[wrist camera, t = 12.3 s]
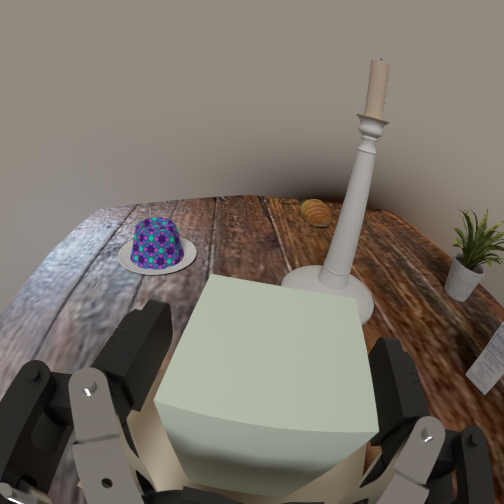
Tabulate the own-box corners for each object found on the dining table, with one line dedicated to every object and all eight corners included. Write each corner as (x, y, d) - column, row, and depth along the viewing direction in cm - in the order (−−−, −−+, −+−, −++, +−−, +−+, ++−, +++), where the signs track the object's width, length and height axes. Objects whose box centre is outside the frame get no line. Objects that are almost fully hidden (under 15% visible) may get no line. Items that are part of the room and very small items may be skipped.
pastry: (336, 231, 55) (340, 214, 54) (305, 228, 55) (309, 211, 53) (324, 214, 64) (327, 199, 62) (297, 211, 63) (299, 196, 61)
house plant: (447, 323, 31) (495, 221, 23) (408, 272, 43) (438, 185, 35) (493, 317, 33) (532, 235, 25) (455, 274, 45) (484, 202, 37)
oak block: (342, 425, 19) (371, 389, 16) (301, 569, 7) (334, 577, 4) (191, 379, 22) (188, 335, 19) (110, 501, 11) (76, 485, 8)
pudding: (113, 245, 41) (110, 215, 38) (180, 233, 47) (180, 204, 44) (127, 287, 32) (121, 251, 30) (210, 268, 38) (211, 234, 36)
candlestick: (305, 260, 43) (341, 64, 28) (380, 292, 37) (436, 86, 22) (261, 299, 33) (301, 32, 19) (357, 346, 27) (441, 54, 13)
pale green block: (292, 423, 14) (355, 298, 9) (285, 497, 10) (379, 431, 5) (209, 409, 14) (211, 273, 9) (189, 481, 10) (153, 399, 5)
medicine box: (483, 397, 19) (526, 345, 15) (463, 375, 23) (502, 321, 19) (501, 370, 22) (535, 322, 18) (483, 352, 26) (515, 303, 22)
